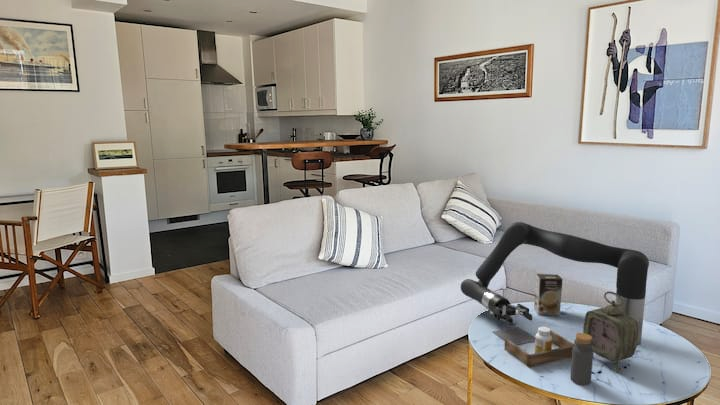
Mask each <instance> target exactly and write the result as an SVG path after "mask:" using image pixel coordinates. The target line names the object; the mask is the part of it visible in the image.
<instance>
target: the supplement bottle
mask: <svg viewBox="0 0 720 405" xmlns="http://www.w3.org/2000/svg"><path fill="white" fill-rule="evenodd" d="M537 328H538V329H537V333H536V334H535V336H534V337H535V342H534V353H539V352H543V351H548V350H552V349H553V348H552V345H553V344H552V336H551V335H550V330H551V328H549V327H547V326H539V327H537Z"/></svg>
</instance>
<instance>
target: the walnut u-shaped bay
mask: <svg viewBox="0 0 720 405" xmlns="http://www.w3.org/2000/svg"><path fill="white" fill-rule="evenodd" d="M550 335H551V336H552V345H554V346H556V347H557V348H552V349H551V350H548V351H543V352H539V353H535V352H534V353H528V352H527V351H526V350H524V349H523V348H521V347H520V346H519V345H516V344H514V343H513V342H511V341H510V340H508V339H505V341H504V351H506V352H507V353H509V355H511V356H512V357H514V358H515V359H516V360H518V361H519V362H521V363H522V364H523V365H525V366H526V367H528V368H532V367H536V366H541V365H545V364H550V363H554V362H558V361H561V360H567V359H570V358H571V359H572V349H573V347H574V346H575V344H574V342H571V341H570V340H568V339H567V338H565V337H564V336H561V335H559V334H558V333H557V332H554V331H553V330H551V329H550Z"/></svg>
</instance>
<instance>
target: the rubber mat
mask: <svg viewBox="0 0 720 405" xmlns="http://www.w3.org/2000/svg"><path fill="white" fill-rule="evenodd" d="M491 333H493V334H494V335H495V336H497V337H499V338H500V339H501V340H503V341H504V342H505V339H508V340H510V341H511V342H513V343H514V344H516V345H517V346H520V345H525V344H528V343H535V337H536V336H534V335H532V334H531V333H529V332H528V331H526V330H524V329H523V328H521V327H520V326H512V327H509V328H504V329H498V330H494V331H492V332H491Z"/></svg>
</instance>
